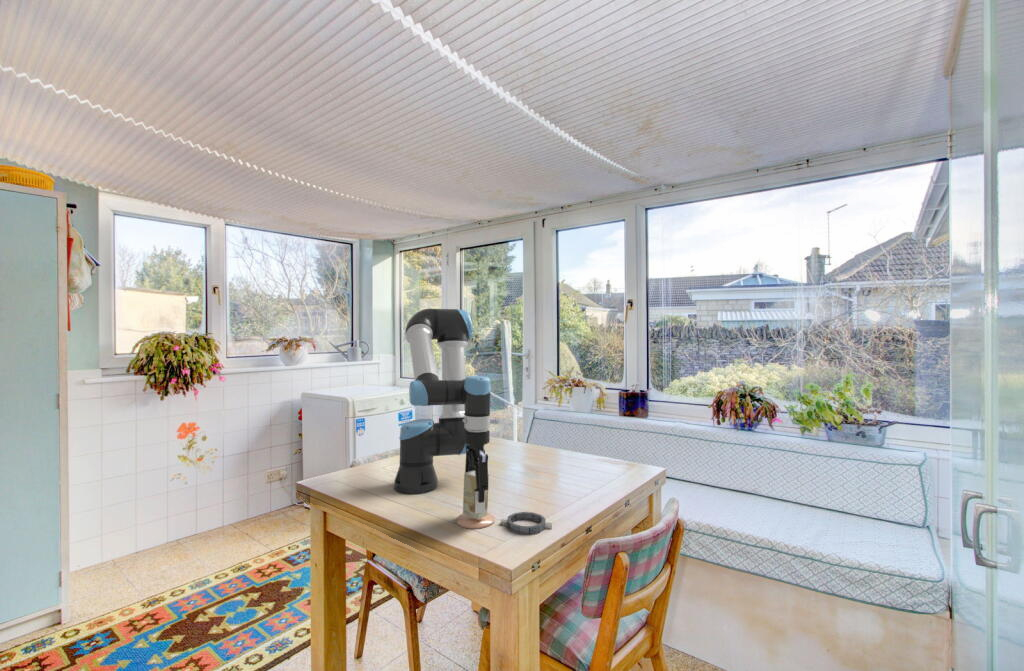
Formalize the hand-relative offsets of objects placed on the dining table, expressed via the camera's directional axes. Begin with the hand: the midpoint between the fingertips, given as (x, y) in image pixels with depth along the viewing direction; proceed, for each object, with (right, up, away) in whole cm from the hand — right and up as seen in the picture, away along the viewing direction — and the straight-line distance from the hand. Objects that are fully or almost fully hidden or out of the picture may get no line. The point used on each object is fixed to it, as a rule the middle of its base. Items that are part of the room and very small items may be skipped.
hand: (475, 507), depth 132 cm
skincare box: (0, -2, 0) cm, 2 cm away
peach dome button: (0, -4, 0) cm, 4 cm away
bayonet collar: (+15, -4, -3) cm, 16 cm away
